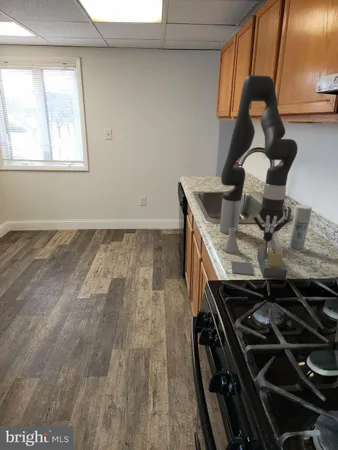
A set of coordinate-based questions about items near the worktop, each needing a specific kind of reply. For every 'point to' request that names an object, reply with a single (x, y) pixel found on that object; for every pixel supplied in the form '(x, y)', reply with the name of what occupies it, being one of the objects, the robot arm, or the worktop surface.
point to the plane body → (264, 266)
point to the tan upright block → (274, 258)
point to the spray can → (299, 227)
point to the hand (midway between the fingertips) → (267, 240)
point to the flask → (231, 242)
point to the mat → (242, 268)
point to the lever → (276, 243)
